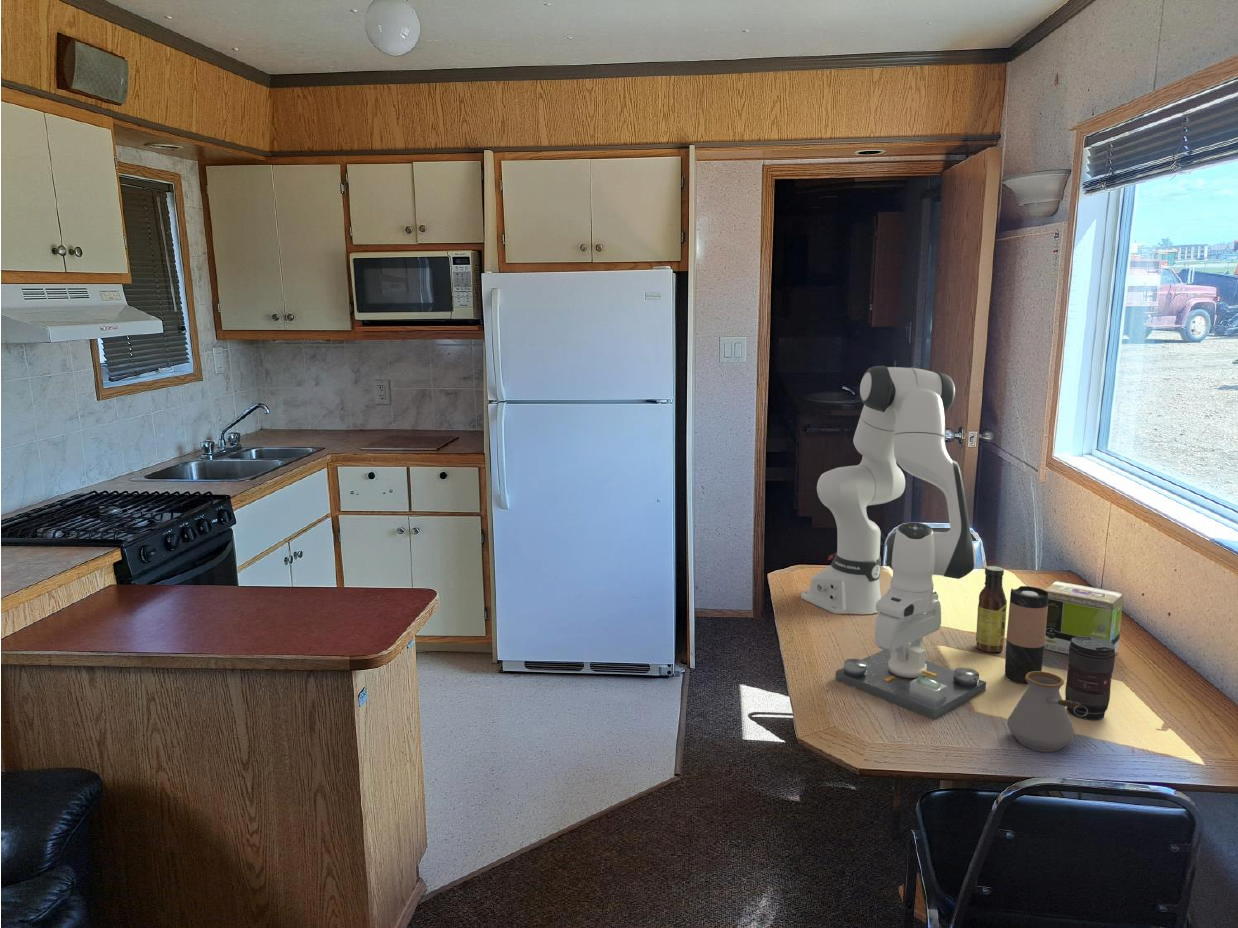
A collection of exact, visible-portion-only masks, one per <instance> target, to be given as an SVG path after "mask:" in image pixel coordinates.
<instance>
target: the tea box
mask: <svg viewBox="0 0 1238 928" xmlns="http://www.w3.org/2000/svg"><path fill="white" fill-rule="evenodd" d="M1044 590H1045V591H1046V592H1048V594H1049V598H1048V611H1047V624H1046V636H1045V647H1044V650H1045V649H1046V650H1049V651H1052V652H1053V651H1054V652H1058V653H1061V654H1062V653H1063V654H1065V655H1066V654H1067V655H1069V646H1070V643H1071V640H1072V638H1074V637H1079V636H1086V637H1095V638H1099V639H1103V640H1106V641H1108V642H1110V643H1112V644H1113V645H1114V646H1115V655H1116V654H1117V653H1118V651H1119V644H1120V635H1121V623H1122V614H1123V613H1122V611H1123V603H1124V602H1123V600H1124V593H1123V592H1118V591H1115V590H1114V591H1112V590H1108V589H1103V588H1096V587H1091V586H1086V585H1080V584H1075V583H1074V584H1073V583H1068V582H1063V581H1058V580H1055V581H1054V582H1053V583H1052V584H1050V585H1049V586H1048V587H1046V588H1044Z"/></svg>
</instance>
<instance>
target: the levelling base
mask: <svg viewBox="0 0 1238 928" xmlns="http://www.w3.org/2000/svg"><path fill="white" fill-rule="evenodd" d="M890 658H891V651H886V650H883V649H881V651H878V652H876V653H874V654H872V655H869V656H867V657H865V658H862V659H861V658H860V659H859V658H848V659H845V660H844V662H843V667H842V668H840V669H837V670H836V671H835V679H834V680H835V681H837V680H838V681H837V682H840V681H841V682H840V683H842V682H844V683H843V684H845V683H846V684H845V685H847V684H848V686H850V687H852V686H854V687H853V688H855V687H856V688H855V689H857V688H858V690H860V691H862V690H864V691H863V692H865V693H867V692H868V693H867V694H870V695H873V696H874V695H875V697H876V698H880V699H882V700H885V701H887V702H890V703H892V704H895V705H897V706H898V707H899V706H900V707H902V708H904V709H908V710H910V711H911V712H915V713H916V714H919V715H921V716H925V717H927V718H930V719H931V720H936V719H937V718H939V717H941V716H943V715H945V714H947V713H949V712H950V711H952V710H953V709H955V708H957V707H960V706H961V705H962V704H964V703H967V702H968V701H970V700H972V699H973V698H976V696H978V695H980V694H983V693H984V692H986V690H987V681H986V680H982V679H981V678H980V673H979V672H978V671H977V670H975V669H973V668H970V667H969V668H968V667H964V666H963V667H956V668H954V669H951V668H948V667H945V666H943V665H939V664H936V663H935V662H934V663H933V662H930V661H929V660H925V663H926V665H927V669H926V671H929V672H932V673H935V674H937V677H936V678H933V677H931V676H928V675H924V676H919V677H918V678H906V677H901V676H898V675H895V674H893V673H891V672H890V671H889V670H888V661H889V659H890Z"/></svg>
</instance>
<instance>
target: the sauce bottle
mask: <svg viewBox="0 0 1238 928" xmlns="http://www.w3.org/2000/svg"><path fill="white" fill-rule="evenodd" d="M1004 572H1005V570H1004V568H1003V567H999V566H997V565H994V566H993V565H990V566H989V565H988V566H985V568H984V575H985V578H984V579H985V581H984V587H983V588H982V589H981V591H980V592H979V596H978V604H977V617H976V636H975V641H976V648H978V650H980V651H983V652H986V653H999V652H1003V649H1004V645H1005V640H1006V639H1005V638H1006V637H1005V636H1006V620H1007V609H1008V608H1007V607H1008V605H1007V604H1008V599H1007V598H1006V594H1005V591H1004V587H1003V578H1004V577H1003V576H1004V575H1005V573H1004Z"/></svg>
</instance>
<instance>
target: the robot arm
mask: <svg viewBox="0 0 1238 928" xmlns="http://www.w3.org/2000/svg"><path fill="white" fill-rule="evenodd" d="M954 383H955V382H954V381H953V378H952V377H950V375H947V374H945V373H944V372H943V373H942V372H940V371H931V370H928V369H927V370H926V369H922V368H917V367H900V366H897V367H895V366H888V367H887V366H886V365H876V366H871V367H869V368H868V369H867V370H866V371H865V372H864V373H863V376H862V379H861V382H860V385H859V395H860V396H859V397H860V400H861V401H862V404H863V407H862V409H861V413H860V416H859V420H858V423H857V427H856V429H855V432H854V436H853V445H854V447H855V449H856V451H857V452H858V453H859V454H860V455H862V458H861V461H860V463H859V464H857V465H848V466H847V465H846V466H840V467H835V468H833V469H830V470H828V471H825V472H823V473H822V474H821V475H820V476H819V478H818V480H817V482H816V483H817V485H816V492H817V496H818V499H819V501H820V502H821V503H822V505H824V506H825V507H827V508H828V510H829V511H830V512H831V513H832V515H833V517H834V519H835V520H834V521H835V524H836V531H837V533H836V534H837V536H836V537H837V540H836V541H837V542H836V543H837V548H836V549H837V550H836V552H835V553H833V554H830V555H828V556H827V557H828V561H830V560H832V562H831V564H830V565H828V566H827V567H825V568H823V569H822V570H821V571H819V572H818V573H815V574H814V576H812V578H811V581H810V584H809V588H808V589H806V590H804V591H802V592H801V594H800V598H801V599H802V600H803V601H807V602H808V603H811V604H813V605H815V606H818V607H820V608H821V609H825V610H826V611H827V612H830V613H832V614H837V615H843V614H848V615H849V614H851V615H872V614H877V613H878V614H877V615H876V617H875V618H876V619H875V627H874V642H875V646H877V648H878V649H881V650H886V651H893V650H895V649H896V651H897V660H898V661H900V662H905V661H907V660H908V653H906V651H905V648H906V647H907V644H910V645H913V646H916V647H918V648H921V645H922V643H923V639H924V637H926V636H928V635H930V634H932V633H934V632H937V631H939V630H940V628H941V626H942V607H941V601H940V600H939V594H938V592H937V591H935V590H934V589H935V588H934V580H933V576H940V577H941V576H942V577H945V578H951V579H957V580H960V579H962V578H964V577H966V576H967V575H969V574H970V573H972V571H974V569H975V568H974V567H975V565H976V556H977V555H976V554H977V553H976V548H975V547H976V546H975V544H974V542H973V538H972V534H971V533H972V532H971V528H970V520H969V513H968V508H967V499H966V494H965V493H966V492H965V487H964V482H963V475H962V471H961V469H960V465H959V463H958V462H957V461H955V460H954V459H952V458H951V456H950V455H949V452H948V451H947V446H946V419H945V413H946V412H948V410H949V409H951V408H952V405H953V403H954V400H955V395H956V387H955V384H954ZM900 467H901V468H900ZM903 471H905V472H907V473H908V474H909V475H911V476H913V477H915V478H916V479H917V478H918V479H920V480H922V481H925V482H928V483H929V484H931V485H933V486H935V487H937V488H938V489H939V490H940V491H941V492H942V493H943V494H944V496H945V499H946V507H947V511H948V513H947V514H948V520H949V527H950V528H949V530H948V531H945V532H943V531H934V530H933V528H932V527H931V526H929V525H927V524H926V523H920V522H917V521H916V522H914V521H913V522H912V521H911V522H904V523H902V524H899V525H898V527H896V531H894V532H893V533H892V534H891V535H890V536H888V538H886V547H887V548H886V549H887V550H886V560H885V563H886V564H887V566H888V567H889V568H890V569H891V570H892V577H891V579H890V584H889V585H890V588H889V589H888V590H887V591H886V593H885V594H883V596H882V595H881V588H880V586H881V585H880V577H881V571H882V570H881V569H882V568H881V567H882V556H881V554H880V553H881V536H882V535H881V532H882V531H881V529H880V527H879V526H878V525H877V524H876V522H875V521H872V519H869V517H868V514H867V507H868V506H875V505H881V504H882V505H883V504H887V503H889V502H892V501H893V500H896V499H898V498H900V497H901V496H902V495H903V493H904V492H905V489H906V477H905V474H904V473H903Z"/></svg>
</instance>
